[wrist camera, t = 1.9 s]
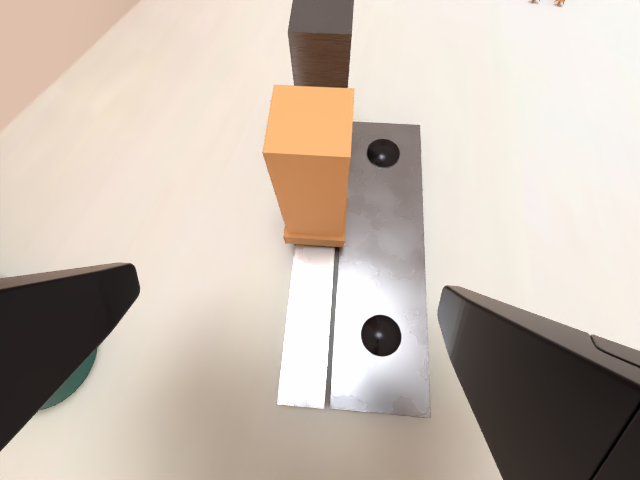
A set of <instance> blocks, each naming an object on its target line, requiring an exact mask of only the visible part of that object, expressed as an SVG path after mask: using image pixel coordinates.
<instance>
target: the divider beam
mask: <svg viewBox="0 0 640 480" xmlns="http://www.w3.org/2000/svg"><path fill="white" fill-rule="evenodd" d="M353 5H354V0H293V3H292V9H291V15H290V21H289V28H288V38H289V46H290V54H291V63H292V71H293V79H294V86H309V87H331V88H348V76H349V63H350V50H351V36H352V21H353ZM334 254H335V247H333V246H318V245H303V244H295V251H294V259H293V268H292V277H291V286H290V295H289V304H288V313H287V321H286V330H285V339H284V348H283V357H282V366H281V375H280V384H279V392H278V401H277V405H288V406H298V407H309V408H320V409H324V404H325V389H326V374H327V359H328V344H329V329H330V314H331V299H332V284H333V269H334Z"/></svg>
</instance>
